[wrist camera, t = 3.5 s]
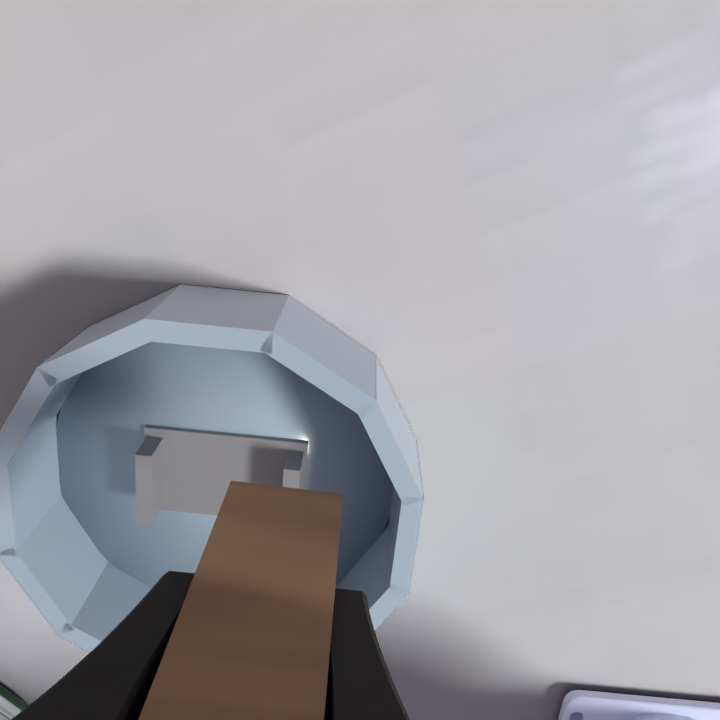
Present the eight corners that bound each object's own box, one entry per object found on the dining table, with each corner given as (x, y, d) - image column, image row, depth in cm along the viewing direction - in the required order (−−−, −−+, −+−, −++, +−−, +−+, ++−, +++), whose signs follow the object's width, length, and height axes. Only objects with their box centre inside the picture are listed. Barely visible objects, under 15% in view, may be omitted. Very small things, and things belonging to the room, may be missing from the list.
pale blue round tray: (389, 626, 25) (392, 706, 22) (57, 595, 25) (8, 671, 21) (435, 309, 21) (447, 349, 17) (32, 269, 20) (-33, 300, 17)
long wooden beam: (331, 585, 16) (299, 922, 9) (225, 572, 16) (117, 903, 9) (343, 493, 15) (317, 795, 8) (230, 480, 15) (117, 774, 8)
